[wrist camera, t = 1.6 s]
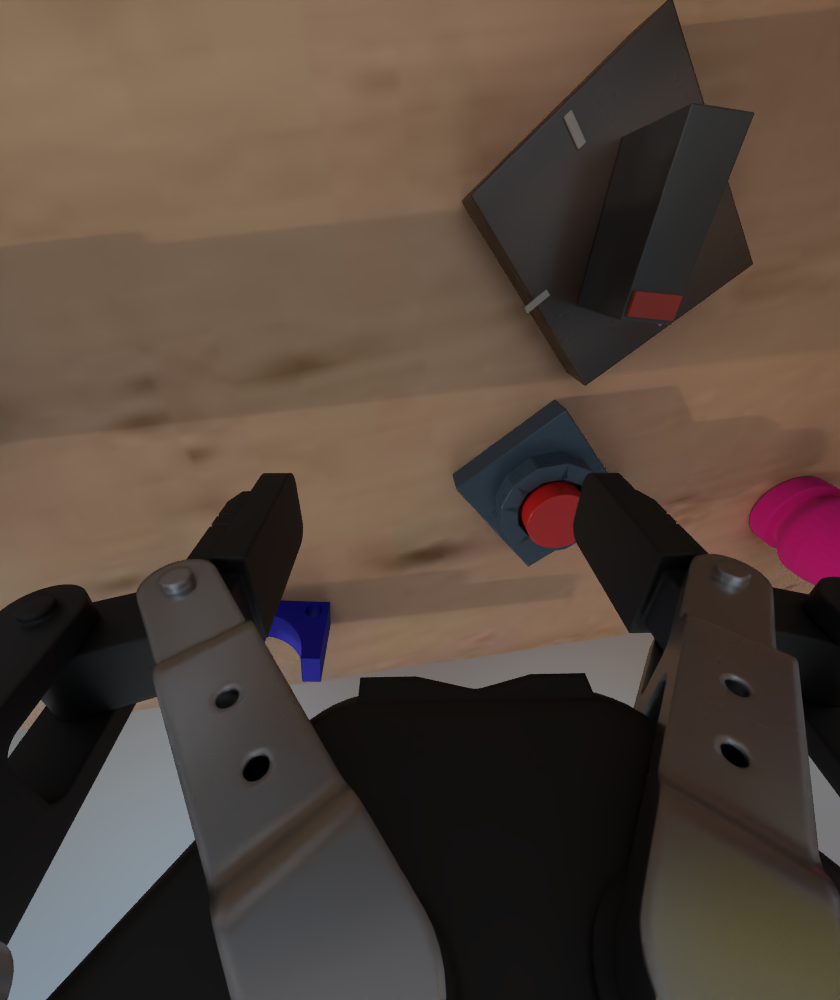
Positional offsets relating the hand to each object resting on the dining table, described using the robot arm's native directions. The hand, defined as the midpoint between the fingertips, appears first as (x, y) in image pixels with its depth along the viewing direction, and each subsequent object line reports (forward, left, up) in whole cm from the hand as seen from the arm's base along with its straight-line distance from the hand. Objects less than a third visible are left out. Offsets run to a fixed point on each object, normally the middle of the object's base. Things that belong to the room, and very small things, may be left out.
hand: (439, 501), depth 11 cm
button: (+13, +1, -14) cm, 19 cm away
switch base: (+1, +12, -17) cm, 21 cm away
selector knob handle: (+1, +12, -14) cm, 19 cm away
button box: (+13, +1, -17) cm, 22 cm away
